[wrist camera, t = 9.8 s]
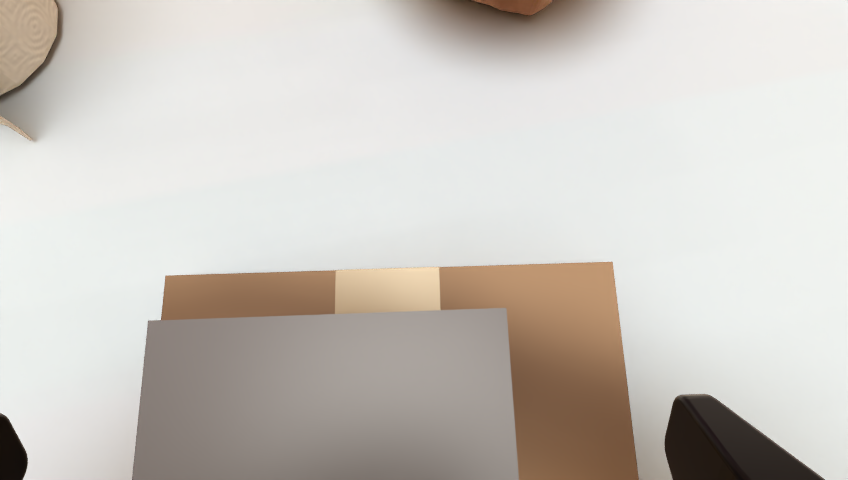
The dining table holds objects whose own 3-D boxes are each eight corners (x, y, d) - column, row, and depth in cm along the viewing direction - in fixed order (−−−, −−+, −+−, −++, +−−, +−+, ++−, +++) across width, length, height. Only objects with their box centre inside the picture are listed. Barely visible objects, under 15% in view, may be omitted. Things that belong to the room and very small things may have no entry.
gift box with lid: (481, 543, 14) (543, 748, 6) (300, 548, 15) (98, 759, 6) (471, 358, 16) (510, 304, 7) (305, 364, 16) (144, 316, 7)
